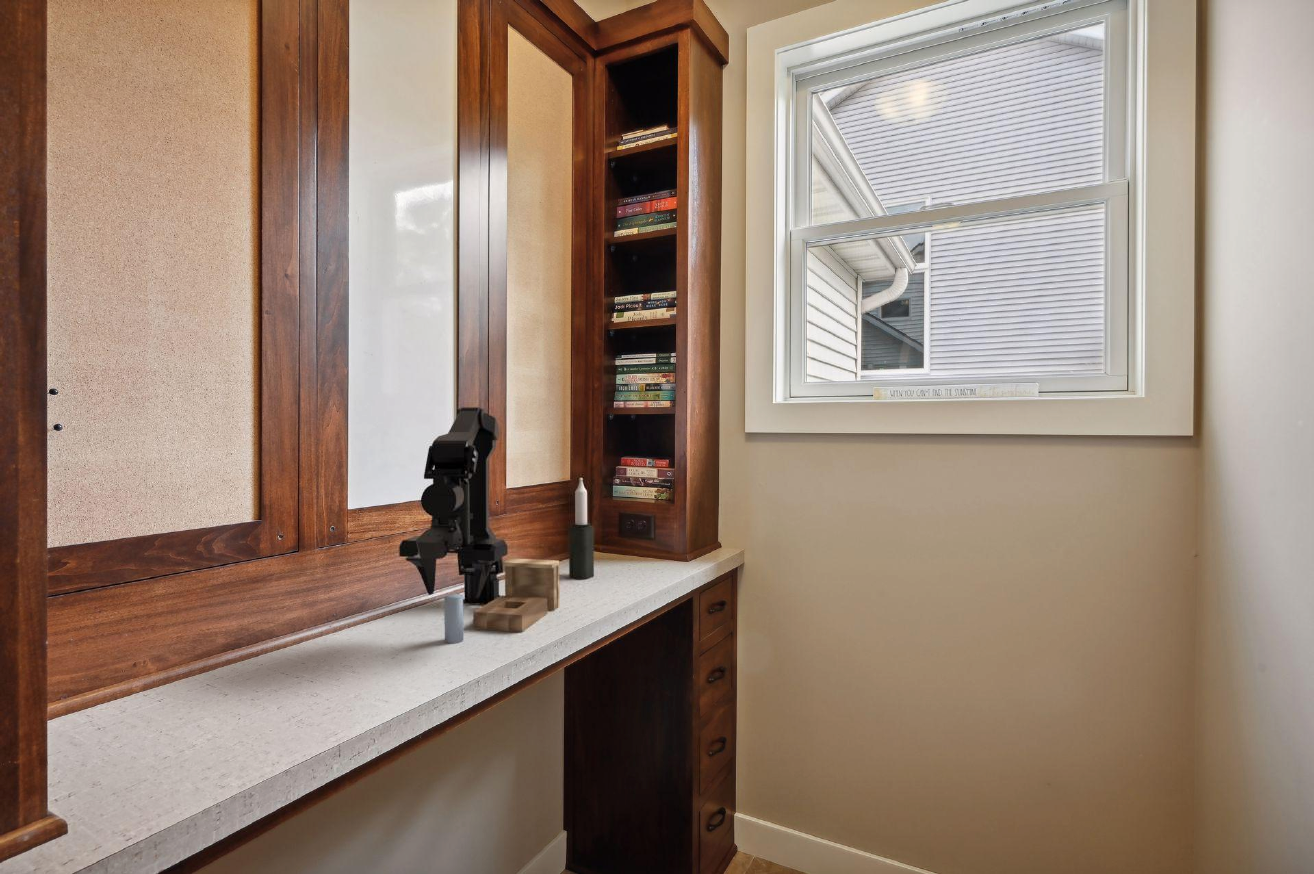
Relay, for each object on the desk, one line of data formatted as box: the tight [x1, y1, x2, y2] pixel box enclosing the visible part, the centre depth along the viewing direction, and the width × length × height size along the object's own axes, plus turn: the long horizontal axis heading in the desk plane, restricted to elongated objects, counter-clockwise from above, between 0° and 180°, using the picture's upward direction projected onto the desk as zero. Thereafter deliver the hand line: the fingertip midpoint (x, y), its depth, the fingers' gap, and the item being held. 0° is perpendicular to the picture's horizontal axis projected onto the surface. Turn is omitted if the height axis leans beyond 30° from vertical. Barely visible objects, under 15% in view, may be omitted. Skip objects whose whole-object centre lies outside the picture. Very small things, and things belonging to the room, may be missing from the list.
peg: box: [443, 593, 464, 645], centre depth 120 cm, size 3×3×8 cm
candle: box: [568, 477, 595, 581], centre depth 168 cm, size 5×5×25 cm
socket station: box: [472, 557, 560, 633], centre depth 134 cm, size 11×18×10 cm, turn 167°
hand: (453, 595), depth 120 cm, fingers open, 9 cm apart
